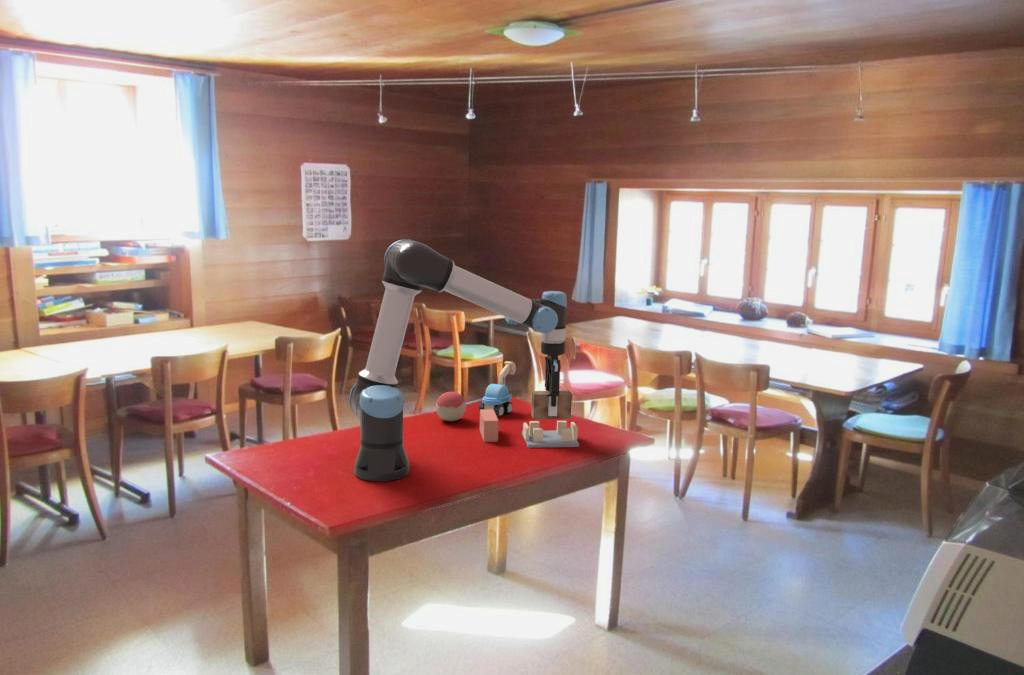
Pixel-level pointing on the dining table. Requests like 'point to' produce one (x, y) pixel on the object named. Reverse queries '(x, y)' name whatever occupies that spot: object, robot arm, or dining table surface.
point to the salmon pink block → (489, 425)
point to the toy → (450, 406)
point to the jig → (550, 435)
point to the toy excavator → (499, 393)
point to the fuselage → (541, 405)
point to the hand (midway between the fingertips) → (551, 413)
